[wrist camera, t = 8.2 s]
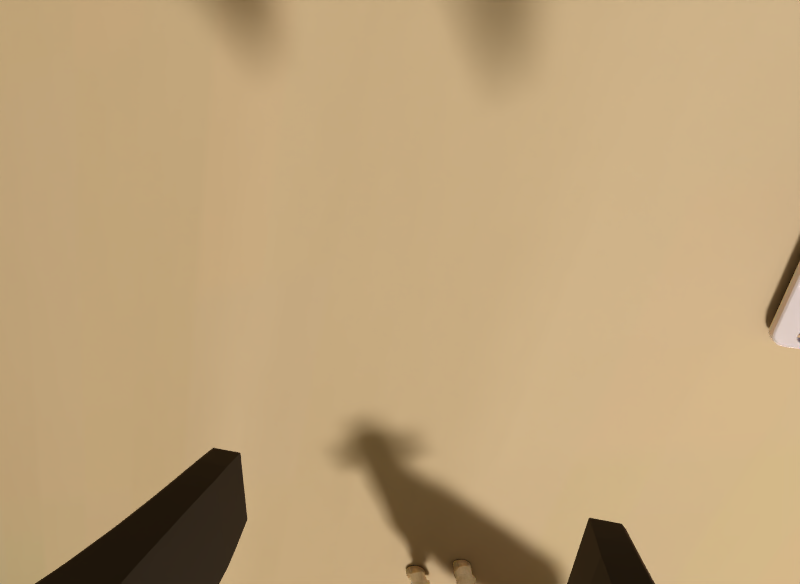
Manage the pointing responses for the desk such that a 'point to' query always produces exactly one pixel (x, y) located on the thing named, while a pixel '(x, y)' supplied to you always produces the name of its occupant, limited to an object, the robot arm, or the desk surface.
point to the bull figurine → (460, 571)
